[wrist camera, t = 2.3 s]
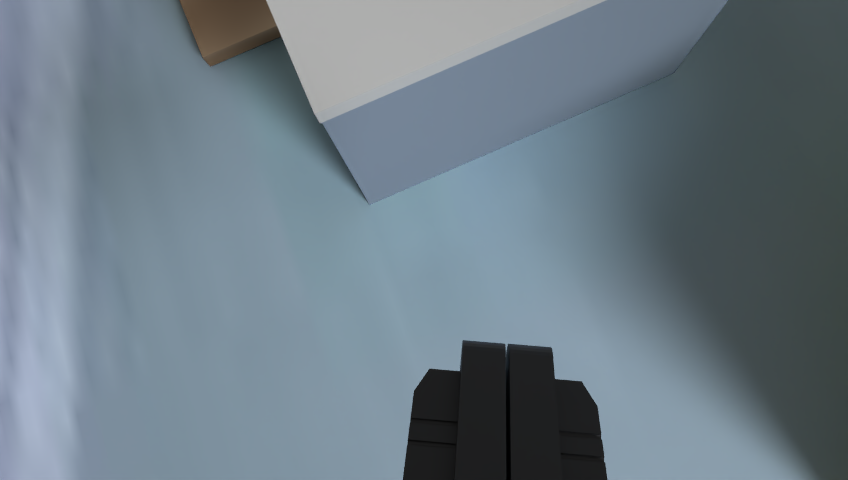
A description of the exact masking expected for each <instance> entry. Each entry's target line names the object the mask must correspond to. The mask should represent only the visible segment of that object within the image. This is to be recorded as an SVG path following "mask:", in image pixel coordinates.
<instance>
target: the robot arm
mask: <svg viewBox="0 0 848 480" xmlns="http://www.w3.org/2000/svg"><path fill="white" fill-rule="evenodd" d="M403 480H607V474H606V466H605V462H604V451H603V444H602V440H601V429H600V422H599V414H598V407H597V405H596V404H595V402H594V400H593V399H592V397H591V396H590V394H589V392H588V391H587V389H586V388H585V386H584V385H583V383H582V381H570V380H558V379H555V376H554V363H553V352H552V348H551V347H540V346H528V345H516V344H508V346H507V352H506V348H505V344H501V343H489V342H477V341H465V340H463V343H462V354H461V365H460V371H450V370H438V369H429V370H428V372H427V373H426V375H425V376H424V377H423V379H422V380H421V382H420V383H419V385H418V386H417V388H416V389H415V390H414V396H413V404H412V412H411V421H410V428H409V435H408V445H407V451H406V459H405V467H404V475H403Z"/></svg>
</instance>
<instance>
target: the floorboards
mask: <svg viewBox="0 0 848 480" xmlns="http://www.w3.org/2000/svg"><path fill="white" fill-rule="evenodd" d="M180 3H181V5H182V8H183V10H184V13H185V15H186V17H187V20H188V22H189V25H190V27H191V30H192V32H193V35H194V37H195V40H196V42H197V45H198V47H199V50H200V52H201V55H202V57H203V58H204V60H205V61H206V62H207V63H208V64H209V66H210V67H211V66H213V65H215V64H218V63H220V62H222V61H225V60H227V59H229V58H232V57H234V56H236V55H239V54H241V53H243V52H246V51H248V50H250V49H253V48H255V47H257V46H260V45H262V44H264V43H267V42H269V41H271V40H274V39H276V38H278V37H281V34H280V32H279V29H278V27H277V25H276V22H275V20H274V18H273V15H272V13H271V11H270V8H269V6H268V4H267V1H266V0H180Z"/></svg>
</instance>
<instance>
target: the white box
mask: <svg viewBox="0 0 848 480" xmlns="http://www.w3.org/2000/svg"><path fill="white" fill-rule="evenodd" d="M266 1H267V4H268V6H269V8H270V11H271V13H272V15H273V18H274V20H275V22H276V25H277V27H278V29H279V32H280V34H281V36H282V39H283V41H284V44H285V46H286V48H287V51H288V53H289V55H290V58H291V60H292V62H293V65H294V67H295V69H296V72H297V74H298V76H299V79H300V81H301V83H302V86H303V88H304V91H305V93H306V95H307V98H308V100H309V102H310V105H311V107H312V109H313V112H314V114H315V116H316V117H317V119H318V121H319V122H320V123H322V124H323V125H324V127H325V129H326V130H327V132H328V134H329V136H330V137H331V139H332V141H333V142H334V144H335V146H336V148H337V149H338V151H339V153H340V155H341V156H342V158H343V160H344V161H345V163H346V165H347V167H348V168H349V170H350V172H351V173H352V175H353V177H354V179H355V180H356V182H357V184H358V185H359V187H360V189H361V191H362V192H363V194H364V196H365V198H366V199H367V201H368V203H369V204H370V205H371V204H373V203H375V202H378V201H380V200H382V199H385V198H387V197H389V196H392V195H394V194H396V193H398V192H401V191H403V190H405V189H408V188H410V187H412V186H415V185H417V184H419V183H422V182H424V181H426V180H428V179H431V178H433V177H435V176H438V175H440V174H442V173H445V172H447V171H449V170H452V169H454V168H456V167H458V166H461V165H463V164H465V163H468V162H470V161H472V160H475V159H477V158H479V157H482V156H484V155H486V154H488V153H491V152H493V151H495V150H498V149H500V148H502V147H505V146H507V145H509V144H512V143H514V142H516V141H518V140H521V139H523V138H525V137H528V136H530V135H532V134H535V133H537V132H539V131H541V130H544V129H546V128H548V127H551V126H553V125H555V124H558V123H560V122H562V121H565V120H567V119H569V118H571V117H574V116H576V115H578V114H581V113H583V112H585V111H588V110H590V109H592V108H595V107H597V106H599V105H601V104H604V103H606V102H608V101H611V100H613V99H615V98H618V97H620V96H622V95H625V94H627V93H629V92H631V91H634V90H636V89H638V88H641V87H643V86H645V85H648V84H650V83H652V82H655V81H657V80H659V79H661V78H664V77H666V76H668V75H671V74H673V73H674V72H675V71H676V69H677V68H678V67H679V65H680V64H681V63H682V61H683V60H684V59H685V57H686V56H687V55H688V53H689V52H690V51H691V49H692V48H693V47H694V45H695V44H696V43H697V41H698V40H699V39H700V37H701V36H702V35H703V33H704V32H705V31H706V29H707V28H708V27H709V25H710V24H711V23H712V21H713V20H714V19H715V17H716V16H717V15H718V13H719V12H720V11H721V9H722V8H723V7H724V5H725V4H726V3H727V1H728V0H266Z"/></svg>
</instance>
